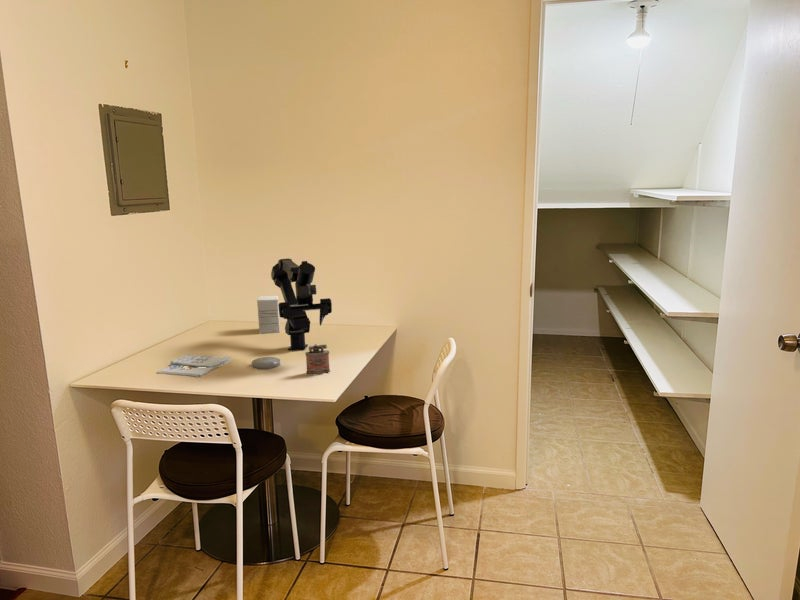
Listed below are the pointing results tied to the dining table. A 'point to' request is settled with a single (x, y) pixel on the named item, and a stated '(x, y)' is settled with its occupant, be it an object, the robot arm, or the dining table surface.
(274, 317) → the supplement box
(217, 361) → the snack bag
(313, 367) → the lighter
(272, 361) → the grey smooth stone
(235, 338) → the dining table surface
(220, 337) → the dining table surface
